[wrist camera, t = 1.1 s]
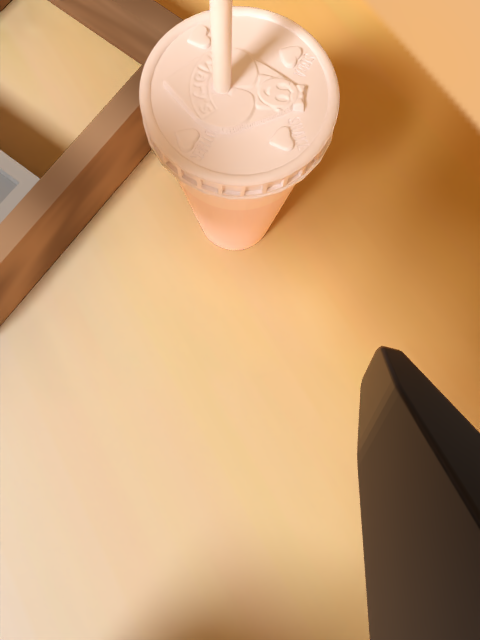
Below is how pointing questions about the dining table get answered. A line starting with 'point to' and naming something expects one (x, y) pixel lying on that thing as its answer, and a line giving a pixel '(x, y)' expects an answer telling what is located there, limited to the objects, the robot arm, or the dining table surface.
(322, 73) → the smoothie
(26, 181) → the tray
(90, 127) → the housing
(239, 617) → the dining table surface
